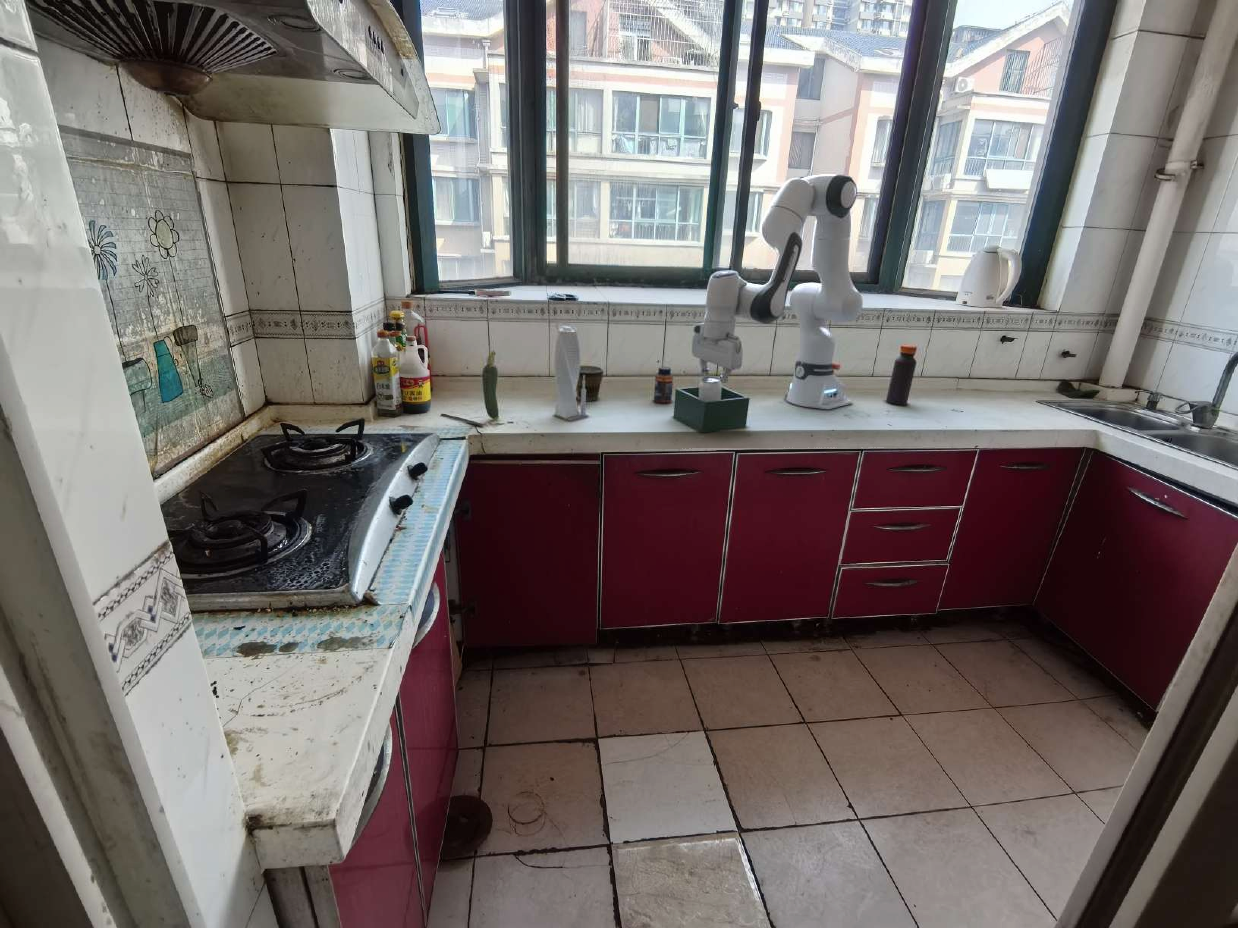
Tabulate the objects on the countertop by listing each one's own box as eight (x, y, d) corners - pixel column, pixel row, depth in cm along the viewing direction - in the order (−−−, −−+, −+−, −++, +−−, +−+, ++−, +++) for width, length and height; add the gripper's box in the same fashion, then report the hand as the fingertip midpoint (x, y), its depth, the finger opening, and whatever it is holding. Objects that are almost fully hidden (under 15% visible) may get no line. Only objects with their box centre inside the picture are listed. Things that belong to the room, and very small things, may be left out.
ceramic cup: (585, 392, 202) (585, 364, 198) (608, 398, 197) (609, 369, 193) (560, 400, 192) (560, 370, 189) (583, 406, 187) (584, 375, 183)
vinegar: (910, 404, 207) (924, 347, 200) (899, 406, 204) (912, 348, 196) (893, 399, 212) (905, 343, 205) (881, 401, 209) (894, 345, 201)
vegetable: (486, 422, 168) (483, 352, 161) (482, 418, 172) (479, 349, 164) (501, 421, 170) (499, 351, 163) (497, 416, 174) (494, 348, 166)
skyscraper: (566, 422, 172) (567, 324, 161) (548, 415, 177) (548, 320, 166) (587, 416, 178) (589, 322, 167) (568, 410, 183) (570, 318, 172)
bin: (715, 412, 188) (718, 384, 184) (745, 427, 175) (749, 397, 172) (673, 417, 181) (675, 388, 178) (702, 432, 168) (705, 402, 165)
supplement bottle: (674, 401, 198) (677, 367, 193) (666, 404, 193) (668, 370, 189) (659, 397, 201) (661, 364, 196) (650, 401, 196) (652, 367, 192)
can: (718, 422, 174) (720, 383, 169) (696, 420, 176) (698, 381, 171) (720, 414, 180) (722, 376, 175) (699, 413, 181) (701, 375, 176)
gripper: (750, 336, 161) (744, 386, 166) (707, 324, 177) (703, 369, 183) (731, 337, 158) (726, 388, 163) (690, 325, 175) (686, 371, 180)
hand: (713, 378), depth 173 cm, fingers open, 8 cm apart
